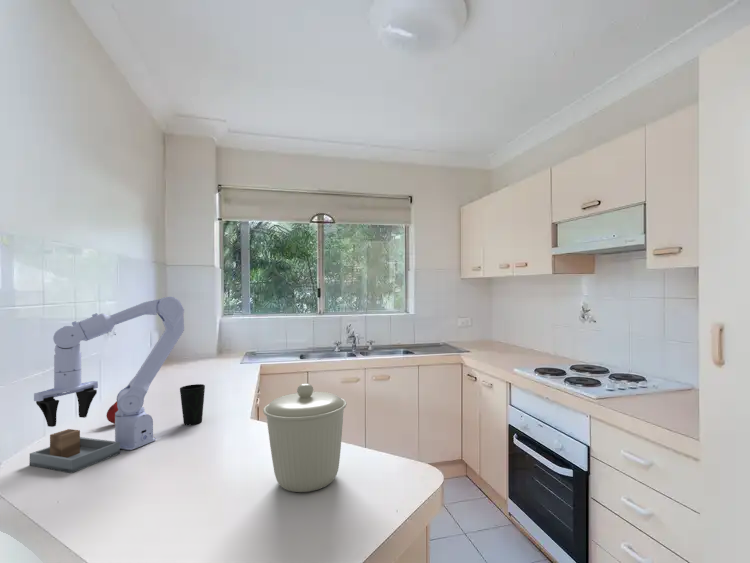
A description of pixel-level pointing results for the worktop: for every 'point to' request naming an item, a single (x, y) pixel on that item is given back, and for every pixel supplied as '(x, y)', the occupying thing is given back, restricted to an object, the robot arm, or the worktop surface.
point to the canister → (305, 438)
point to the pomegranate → (112, 413)
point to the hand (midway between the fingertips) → (67, 421)
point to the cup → (192, 403)
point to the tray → (88, 455)
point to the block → (65, 443)
